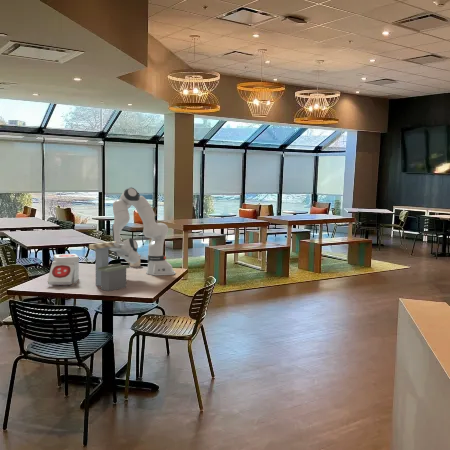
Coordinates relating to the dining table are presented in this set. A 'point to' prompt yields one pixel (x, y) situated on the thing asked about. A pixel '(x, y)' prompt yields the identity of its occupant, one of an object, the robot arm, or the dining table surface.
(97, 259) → the plinth
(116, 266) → the box with lid
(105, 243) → the block
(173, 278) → the dining table surface
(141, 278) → the dining table surface
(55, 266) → the white box
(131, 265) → the teacup with lid
